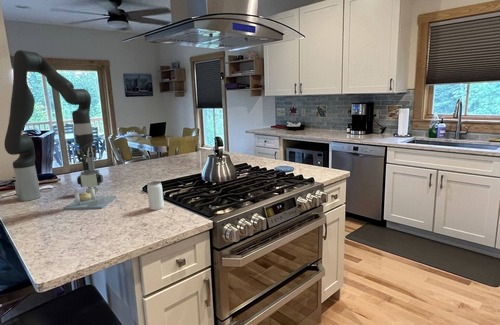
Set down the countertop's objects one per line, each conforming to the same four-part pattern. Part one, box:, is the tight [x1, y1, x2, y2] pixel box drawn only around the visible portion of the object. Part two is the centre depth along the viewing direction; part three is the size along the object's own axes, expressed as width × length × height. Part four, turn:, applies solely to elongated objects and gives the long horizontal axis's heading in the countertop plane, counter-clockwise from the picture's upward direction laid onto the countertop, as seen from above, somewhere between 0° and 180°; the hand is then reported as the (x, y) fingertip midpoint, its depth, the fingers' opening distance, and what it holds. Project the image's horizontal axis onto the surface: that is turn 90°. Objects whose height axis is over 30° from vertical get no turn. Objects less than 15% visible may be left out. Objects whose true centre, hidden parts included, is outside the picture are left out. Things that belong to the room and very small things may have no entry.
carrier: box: [62, 187, 117, 211], centre depth 153 cm, size 18×16×8 cm
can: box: [146, 180, 165, 211], centre depth 144 cm, size 6×6×12 cm
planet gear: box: [80, 156, 100, 176], centre depth 149 cm, size 8×8×8 cm
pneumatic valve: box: [76, 172, 104, 194], centre depth 170 cm, size 6×12×12 cm, turn 102°
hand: (89, 168), depth 150 cm, fingers closed on planet gear, 4 cm apart
